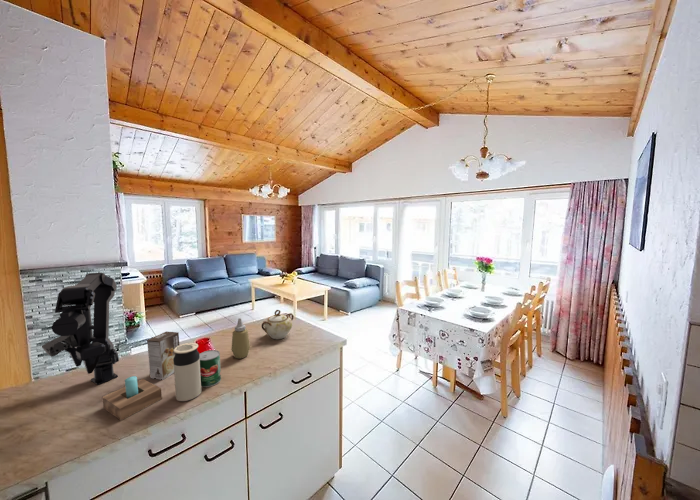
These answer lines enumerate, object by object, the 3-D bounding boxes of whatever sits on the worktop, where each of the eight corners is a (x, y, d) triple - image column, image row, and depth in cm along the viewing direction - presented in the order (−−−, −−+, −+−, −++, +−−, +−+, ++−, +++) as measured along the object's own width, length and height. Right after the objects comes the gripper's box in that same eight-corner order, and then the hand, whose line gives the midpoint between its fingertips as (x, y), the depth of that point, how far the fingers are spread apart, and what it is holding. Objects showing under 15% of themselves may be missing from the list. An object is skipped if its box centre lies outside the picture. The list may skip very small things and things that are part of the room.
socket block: (103, 408, 92) (102, 396, 92) (143, 388, 103) (143, 378, 102) (120, 420, 86) (119, 408, 86) (161, 398, 97) (161, 388, 97)
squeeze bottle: (227, 358, 126) (226, 320, 124) (240, 350, 133) (239, 314, 131) (241, 361, 123) (240, 322, 121) (254, 353, 130) (252, 316, 128)
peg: (125, 404, 94) (122, 379, 93) (136, 399, 97) (133, 375, 96) (130, 407, 92) (127, 382, 91) (140, 402, 95) (138, 377, 94)
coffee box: (168, 366, 118) (166, 330, 117) (181, 368, 117) (179, 332, 115) (149, 378, 109) (146, 339, 108) (163, 380, 108) (160, 341, 106)
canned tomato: (217, 373, 113) (215, 348, 112) (224, 381, 108) (223, 354, 107) (195, 381, 108) (194, 354, 107) (202, 390, 102) (200, 362, 101)
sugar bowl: (269, 346, 138) (269, 317, 136) (254, 337, 148) (254, 310, 146) (301, 334, 152) (301, 308, 151) (286, 327, 162) (285, 302, 161)
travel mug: (183, 404, 94) (180, 354, 92) (171, 396, 98) (168, 348, 96) (205, 392, 101) (203, 345, 99) (193, 385, 105) (191, 340, 103)
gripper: (33, 327, 87) (39, 373, 89) (55, 339, 79) (61, 391, 80) (80, 316, 97) (84, 358, 99) (104, 326, 88) (108, 372, 90)
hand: (84, 369), depth 92 cm, fingers open, 9 cm apart
